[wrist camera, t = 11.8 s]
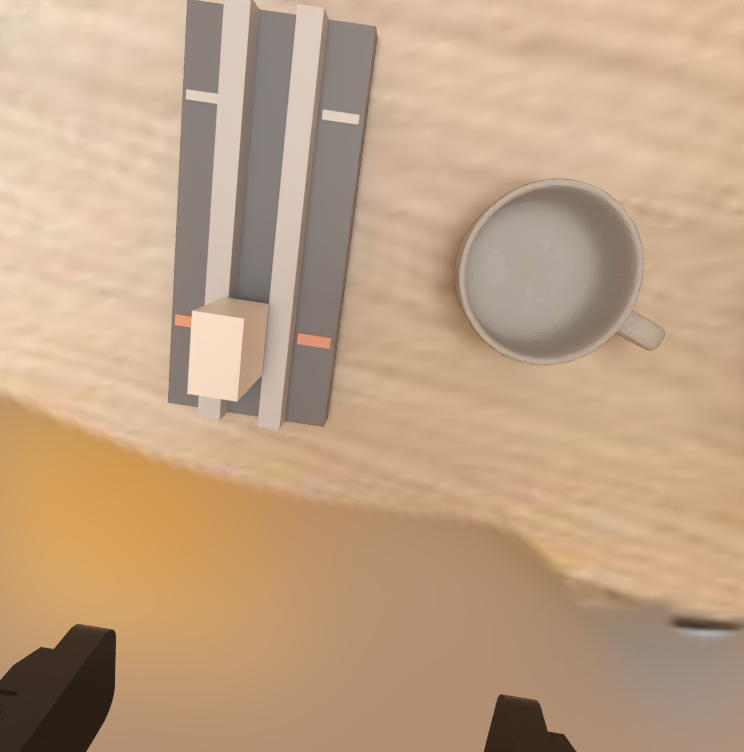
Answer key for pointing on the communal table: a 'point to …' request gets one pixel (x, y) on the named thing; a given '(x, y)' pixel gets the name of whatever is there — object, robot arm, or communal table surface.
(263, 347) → the fader
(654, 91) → the communal table surface
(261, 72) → the track
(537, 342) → the teacup
